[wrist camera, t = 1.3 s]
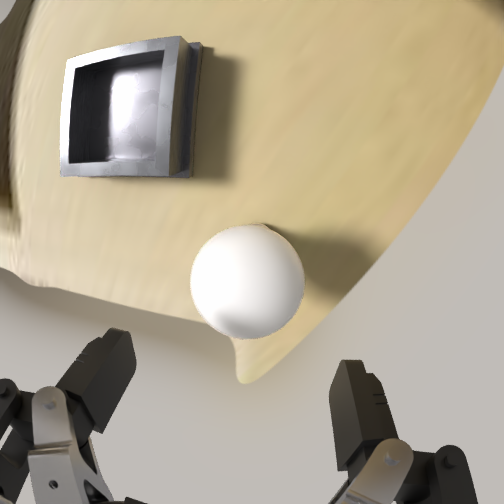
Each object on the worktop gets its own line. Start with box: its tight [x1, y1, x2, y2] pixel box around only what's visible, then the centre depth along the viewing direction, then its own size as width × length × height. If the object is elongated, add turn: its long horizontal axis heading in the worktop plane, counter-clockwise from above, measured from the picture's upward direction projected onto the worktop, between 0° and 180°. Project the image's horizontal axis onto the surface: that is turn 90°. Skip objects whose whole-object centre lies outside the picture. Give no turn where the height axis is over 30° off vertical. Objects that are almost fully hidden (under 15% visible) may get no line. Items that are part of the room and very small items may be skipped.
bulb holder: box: [60, 36, 203, 178], centre depth 18 cm, size 11×11×4 cm
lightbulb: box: [190, 223, 305, 339], centre depth 18 cm, size 6×6×11 cm
